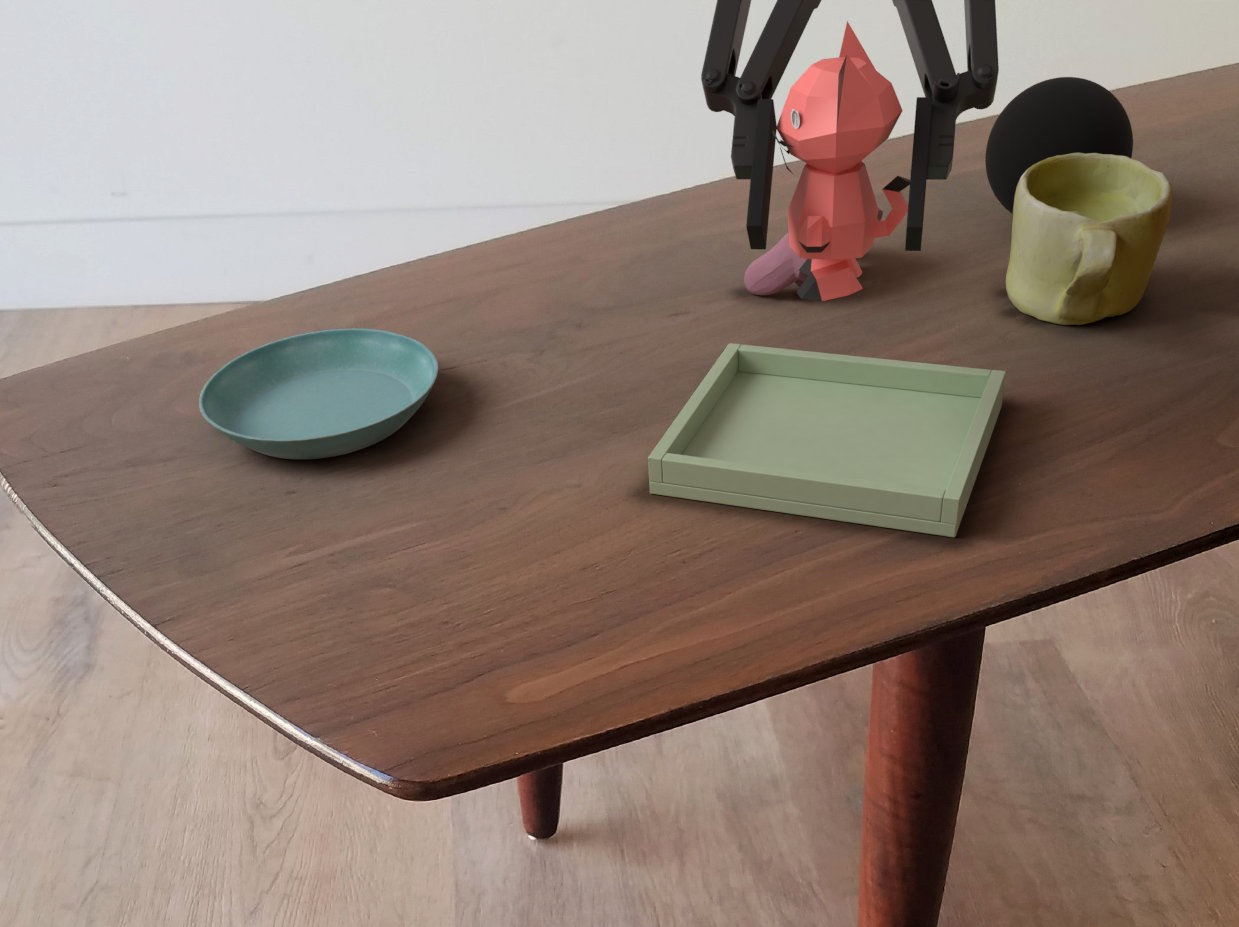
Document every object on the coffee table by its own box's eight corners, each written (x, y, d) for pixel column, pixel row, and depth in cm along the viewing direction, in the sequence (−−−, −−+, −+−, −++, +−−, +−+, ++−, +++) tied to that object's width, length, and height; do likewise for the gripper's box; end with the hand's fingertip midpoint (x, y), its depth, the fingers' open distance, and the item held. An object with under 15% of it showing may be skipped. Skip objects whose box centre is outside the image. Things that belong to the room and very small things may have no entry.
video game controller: (781, 327, 95) (823, 248, 89) (733, 286, 96) (771, 205, 90) (861, 278, 100) (905, 201, 94) (815, 240, 101) (856, 161, 95)
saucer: (192, 397, 90) (181, 360, 88) (408, 347, 93) (402, 310, 92) (230, 502, 79) (219, 461, 77) (474, 440, 82) (468, 400, 81)
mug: (992, 233, 96) (1052, 105, 88) (1133, 287, 94) (1207, 163, 86) (948, 337, 89) (1009, 209, 81) (1099, 397, 88) (1177, 273, 79)
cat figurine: (773, 255, 75) (776, 20, 68) (901, 253, 74) (918, 14, 67) (766, 309, 70) (769, 60, 63) (905, 308, 69) (924, 55, 61)
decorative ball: (1116, 197, 104) (1139, 58, 98) (1124, 248, 97) (1149, 101, 91) (980, 196, 107) (994, 60, 101) (977, 245, 99) (992, 102, 93)
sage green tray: (1001, 406, 80) (1006, 370, 79) (955, 538, 70) (959, 499, 69) (729, 376, 86) (729, 342, 85) (649, 493, 76) (647, 457, 74)
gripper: (1066, -156, 71) (1036, 272, 69) (686, -137, 75) (646, 267, 73) (1089, -270, 64) (1057, 205, 61) (666, -241, 68) (621, 204, 66)
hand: (834, 238), depth 67 cm, fingers closed on cat figurine, 7 cm apart
